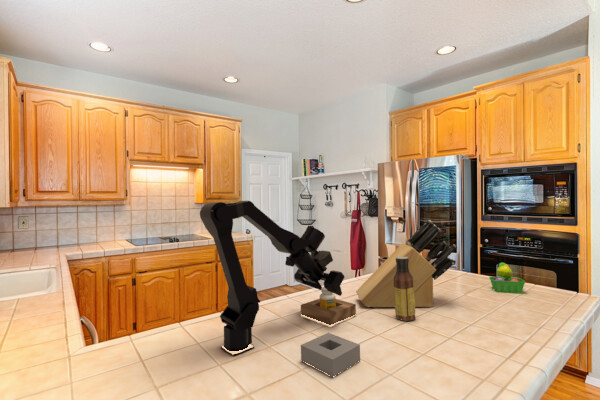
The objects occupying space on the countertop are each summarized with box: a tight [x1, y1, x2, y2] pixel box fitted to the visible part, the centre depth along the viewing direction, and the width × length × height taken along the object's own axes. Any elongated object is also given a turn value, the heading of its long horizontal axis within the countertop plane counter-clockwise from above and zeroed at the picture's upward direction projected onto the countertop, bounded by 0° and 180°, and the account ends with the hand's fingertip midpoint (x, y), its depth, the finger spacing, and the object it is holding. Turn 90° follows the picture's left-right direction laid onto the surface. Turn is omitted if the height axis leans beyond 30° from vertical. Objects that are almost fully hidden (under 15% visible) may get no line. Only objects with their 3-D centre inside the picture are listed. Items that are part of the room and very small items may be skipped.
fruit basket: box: [488, 262, 526, 294], centre depth 131 cm, size 11×9×11 cm
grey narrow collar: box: [300, 332, 361, 378], centre depth 75 cm, size 10×10×4 cm
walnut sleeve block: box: [300, 298, 357, 325], centre depth 104 cm, size 13×13×4 cm
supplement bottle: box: [319, 286, 337, 309], centre depth 104 cm, size 5×5×10 cm
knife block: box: [355, 219, 457, 308], centre depth 117 cm, size 11×35×31 cm, turn 89°
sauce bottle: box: [394, 257, 416, 322], centre depth 102 cm, size 7×6×20 cm
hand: (330, 291), depth 105 cm, fingers open, 9 cm apart
